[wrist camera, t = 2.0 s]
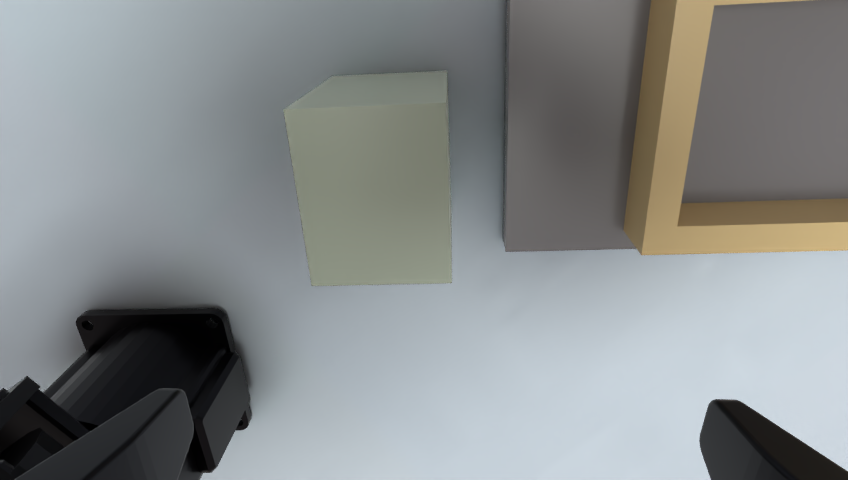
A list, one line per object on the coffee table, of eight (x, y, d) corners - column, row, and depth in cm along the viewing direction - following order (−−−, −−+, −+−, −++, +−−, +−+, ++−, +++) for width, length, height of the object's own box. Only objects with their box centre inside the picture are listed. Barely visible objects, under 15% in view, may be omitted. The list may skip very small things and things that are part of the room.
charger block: (348, 208, 20) (311, 286, 15) (333, 75, 18) (283, 109, 13) (451, 205, 20) (451, 283, 15) (447, 70, 18) (445, 102, 13)
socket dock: (503, 240, 21) (511, 277, 18) (508, -126, 16) (521, -151, 13) (905, 230, 20) (978, 267, 17) (1049, -162, 15) (1186, -198, 12)
